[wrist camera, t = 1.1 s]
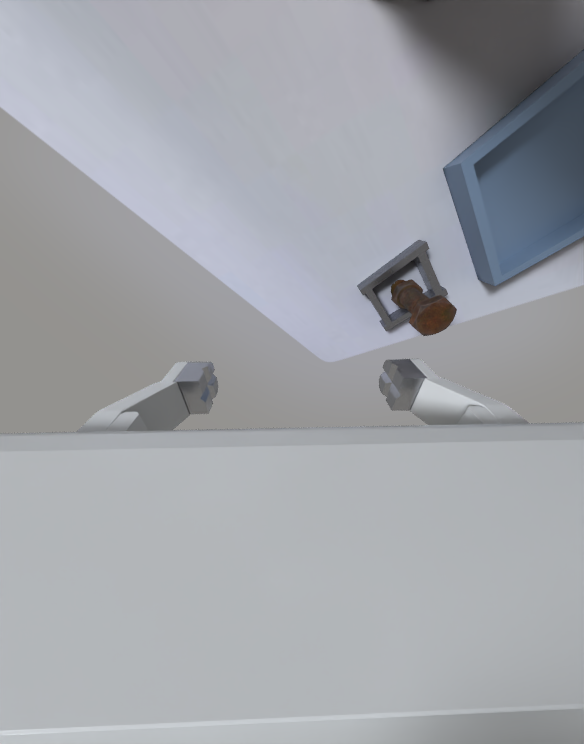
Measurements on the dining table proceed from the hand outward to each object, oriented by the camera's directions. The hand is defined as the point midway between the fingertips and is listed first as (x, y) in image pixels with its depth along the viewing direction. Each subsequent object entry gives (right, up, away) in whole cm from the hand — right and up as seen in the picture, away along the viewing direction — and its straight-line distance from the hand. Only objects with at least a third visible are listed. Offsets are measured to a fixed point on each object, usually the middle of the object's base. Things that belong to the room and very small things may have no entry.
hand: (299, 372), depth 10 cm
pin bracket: (+21, +17, +31) cm, 41 cm away
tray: (+36, +29, +21) cm, 51 cm away
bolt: (+21, +17, +31) cm, 41 cm away
